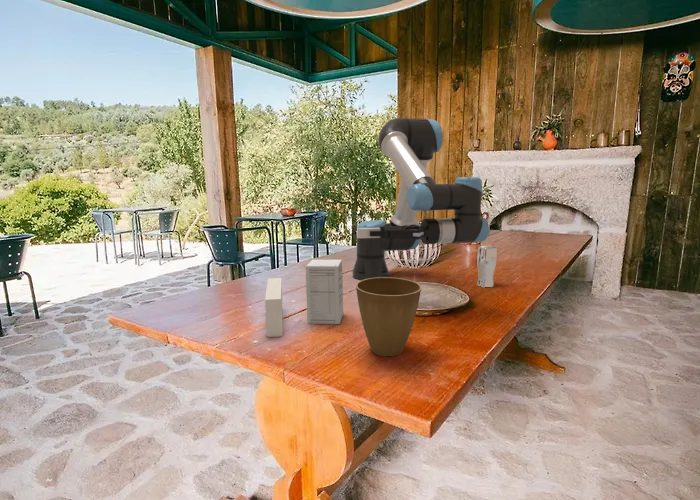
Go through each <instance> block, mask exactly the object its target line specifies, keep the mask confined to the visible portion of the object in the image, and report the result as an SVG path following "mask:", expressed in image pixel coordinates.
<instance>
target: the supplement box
mask: <svg viewBox="0 0 700 500" xmlns="http://www.w3.org/2000/svg"><path fill="white" fill-rule="evenodd" d="M305 281H306V282H305V283H306V284H305V285H306V288H305V289H306V315H307V324H308V325H309V324H310V325H311V324H315V325H318V324H319V325H320V324H321V325H340V324H341V320H342V318H343V315H344V286H343V259H311V261H309V262H308V263H307V265H305Z"/></svg>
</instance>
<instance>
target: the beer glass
mask: <svg viewBox="0 0 700 500" xmlns="http://www.w3.org/2000/svg"><path fill="white" fill-rule="evenodd" d="M477 247H478V249H477V254H476V255H477V256H476V263H477V271H478V279H477V282H476V286H477V285H478V287H479V286H481V287H480V288H485V287H491V288H493V287H494V285H495V284H494V283H495V282H494V273H495V271H496V270H495V269H496V266H497V260H498V259H497V258H498V256H497V255H498V253H497V252H498V249H497V248H498V247H497V246H495V245H494V246H493V245H479V246H477Z"/></svg>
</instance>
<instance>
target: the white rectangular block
mask: <svg viewBox="0 0 700 500" xmlns="http://www.w3.org/2000/svg"><path fill="white" fill-rule="evenodd" d="M265 291H266V292H265V299H264V304H265V305H264V308H265V328H266V329H265V330H266V334H265V335H266V338H274V337H283V316H284V315H283V310H284V309H283V286H282V277H275V278H274V277H273V278H270V277H268V278H267V285H266V290H265Z"/></svg>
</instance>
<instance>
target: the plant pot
mask: <svg viewBox="0 0 700 500" xmlns="http://www.w3.org/2000/svg"><path fill="white" fill-rule="evenodd" d="M355 290H356V297H357V303H358V308H359V313H360V317H361V322H362V325H363V329H364V334H365V337H366V338H367V341H368V344H369V345H368V346H369V347H370V350H371V351H372V353H374V354H375V355H377V356H381V357H387V356H392V357H395V356H396V355H397V356H400V355H401V354H402V353H403V351H404V348H405V346H406V344H407V342H408V339H409V337H410V334H411V331H412V328H413V325H414V322H415V318H416V315H417V312H418V307H419V302H420V297H421V292H422V286H421V284H419V283H418V282H416V281H413V280H410V279H406V278H399V277H390V276H389V277H377V278H369V279H364V280H359V281H358V282H356V283H355Z"/></svg>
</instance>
